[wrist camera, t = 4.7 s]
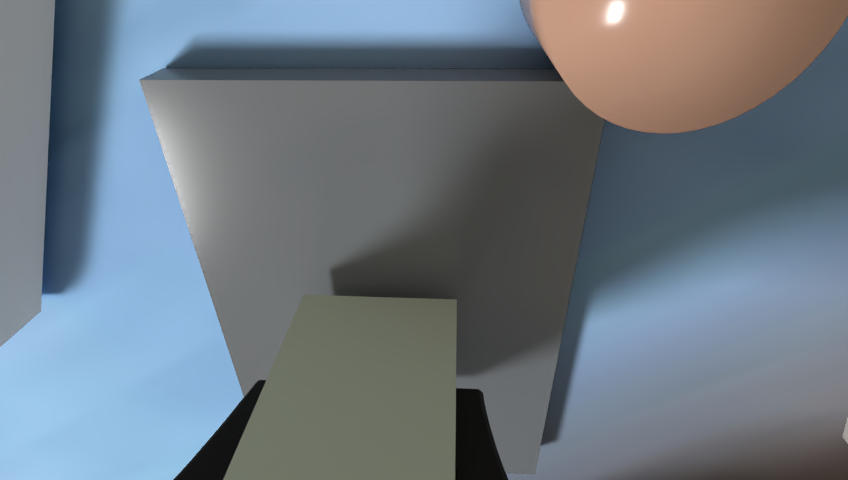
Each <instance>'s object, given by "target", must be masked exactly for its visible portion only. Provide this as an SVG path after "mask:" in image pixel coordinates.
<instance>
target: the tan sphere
mask: <svg viewBox="0 0 848 480" xmlns="http://www.w3.org/2000/svg"><path fill="white" fill-rule="evenodd" d="M519 1H520V6H521V9H522V12H523V15H524V17H525V20H526V22H527V24H528V26H529V28H530V30H531V31H532V33H533V34H534V36H535V37H536V39H537V40H538V42H539V44H540V45H541V47H542V48H543V50H544V51H545V53H546V54H547V56H548V57H549V59H550V60H551V62H552V63H553V65H554V66H555V68H556V69H557V71H558V72H559V74H560V75H561V77H562V78H563V80H564V81H565V83H566V84H567V86H568V87H569V88H570V90H571V91H572V92H573V94H574V95H575V96H576V97H577V98H578V99H579V100H580V101H581V102H582V103H583V104H584V105H585V106H586V107H587V108H589V109H590V110H591V111H593V112H594V113H595V114H597V115H598V116H600V117H602V118H604V119H605V120H607V121H609V122H611V123H613V124H616V125H619V126H621V127H624V128H627V129H631V130H636V131H641V132H646V133H660V134H666V133H682V132H688V131H694V130H699V129H703V128H707V127H710V126H714V125H717V124H720V123H722V122H725V121H727V120H730V119H733V118H735V117H737V116H739V115H741V114H743V113H745V112H747V111H749V110H751V109H753V108H755V107H757V106H758V105H760V104H761V103H763V102H764V101H766V100H768V99H769V98H771V97H772V96H774V95H775V94H776V93H778V92H779V91H780V90H782V89H783V88H784V87H786V86H787V85H788V84H789V83H791V82H792V81H793V80H794V79H795V78H796V77H797V76H798V75H800V74H801V73H802V72H803V71H804V70H805V69H806V68H807V67H808V66H809V65H810V64H811V63H812V62H813V61H814V60H815V59H816V57H817V56H818V55H819V54H820V53H821V52H822V51H823V50H824V49H825V47H826V46H827V45H828V43H829V42H830V41H831V39H832V38H833V37H834V35H835V34H836V33H837V32H838V30H839V29H840V27H841V26H842V24H843V22H844V21H845V19H846V18H847V16H848V0H519Z"/></svg>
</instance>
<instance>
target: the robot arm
mask: <svg viewBox="0 0 848 480" xmlns="http://www.w3.org/2000/svg"><path fill="white" fill-rule="evenodd" d="M265 382H266V380H259V381H257V382H256V383H255V384H254V386H253V387H252V388H251V389H250V391H249V392H248V393H247V394H246V396H245V397H244V398H243V399H242V401H241V402H240V403H239V404H238V405H237V407H236V408H235V409H234V410H233V412H232V413H231V414H230V415H229V417H228V418H227V419H226V420H225V421H224V423H223V424H222V425H221V426H220V427H219V429H218V430H217V431H216V432H215V433H214V435H213V436H212V437H211V438H210V439H209V440H208V442H207V443H206V444H205V445H204V446H203V447H202V448H201V450H200V451H199V452H198V453H197V454H196V455H195V456H194V458H193V459H192V460H191V461H190V462H189V463H188V464H187V466H186V467H185V468H184V469H183V470H182V471H181V472H180V473H179V474H178V475H177V476H176V478H175V479H174V480H223V479H224V477H225V474H226V472H227V470H228V467H229V465H230V463H231V460H232V458H233V456H234V454H235V451H236V449H237V447H238V444H239V442H240V440H241V437H242V435H243V433H244V430H245V428H246V426H247V424H248V421H249V419H250V417H251V414H252V412H253V410H254V407H255V405H256V403H257V401H258V398H259V396H260V394H261V391H262V389H263V387H264V384H265ZM455 480H508V478H507V475H506V473H505V470H504V467H503V465H502V462H501V459H500V456H499V453H498V450H497V447H496V444H495V441H494V438H493V434H492V431H491V427H490V424H489V420H488V416H487V412H486V407H485V402H484V396H483V392H482V391H480V390H479V389H465V388H456V443H455Z"/></svg>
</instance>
